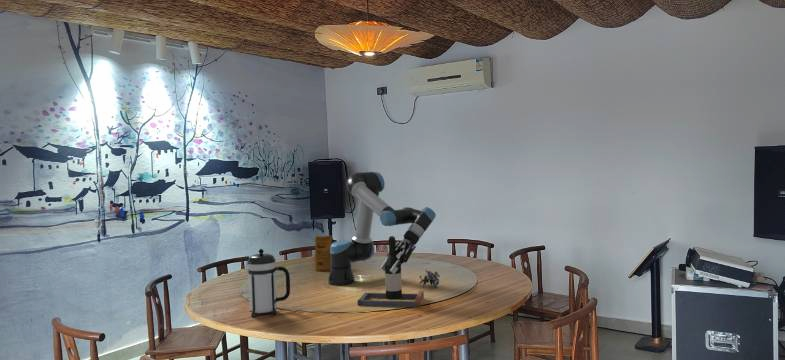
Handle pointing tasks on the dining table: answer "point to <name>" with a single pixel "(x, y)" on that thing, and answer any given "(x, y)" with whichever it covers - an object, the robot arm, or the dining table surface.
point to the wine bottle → (391, 279)
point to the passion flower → (431, 279)
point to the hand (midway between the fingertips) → (387, 270)
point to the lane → (416, 303)
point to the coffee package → (322, 253)
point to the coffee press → (264, 283)
